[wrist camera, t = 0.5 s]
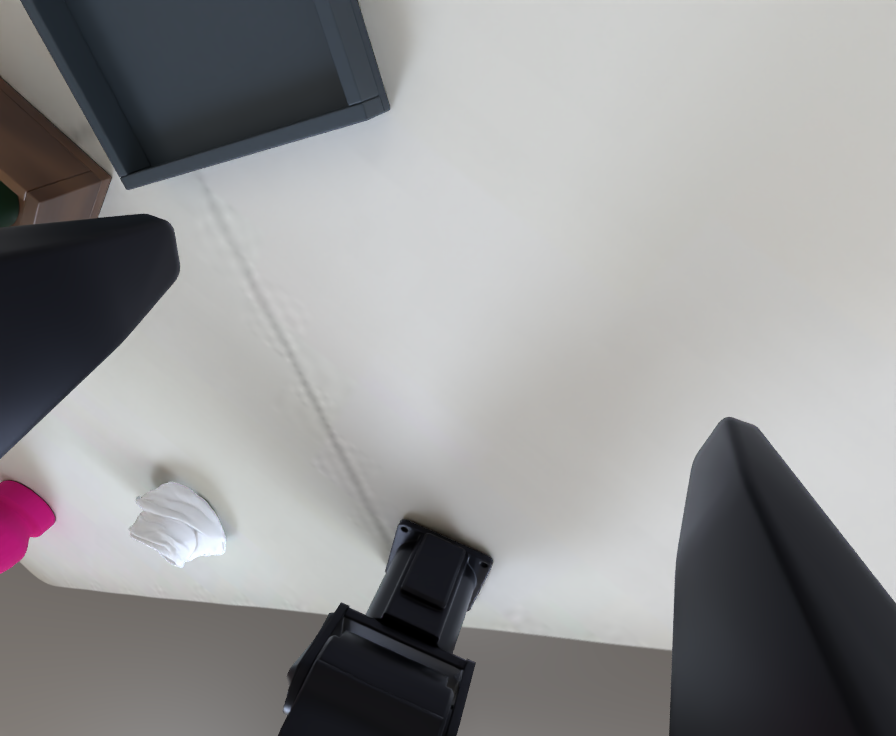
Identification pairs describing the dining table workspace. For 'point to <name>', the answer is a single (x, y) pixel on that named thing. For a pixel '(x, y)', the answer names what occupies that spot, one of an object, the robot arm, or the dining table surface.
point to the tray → (209, 76)
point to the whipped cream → (178, 524)
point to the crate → (45, 166)
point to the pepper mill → (20, 521)
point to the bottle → (8, 206)
